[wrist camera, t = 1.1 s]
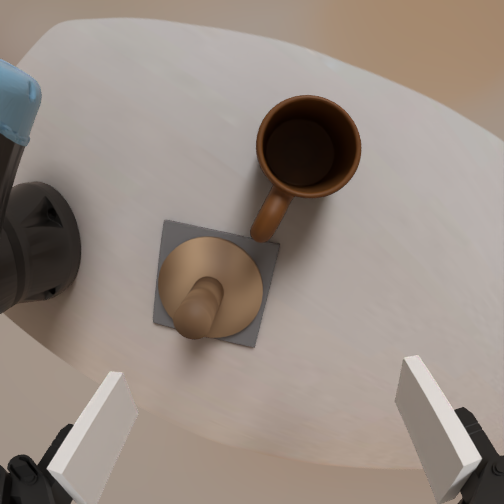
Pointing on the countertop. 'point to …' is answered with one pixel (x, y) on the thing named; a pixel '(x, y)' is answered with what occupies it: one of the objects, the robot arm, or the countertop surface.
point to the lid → (210, 288)
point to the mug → (303, 155)
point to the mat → (258, 251)
